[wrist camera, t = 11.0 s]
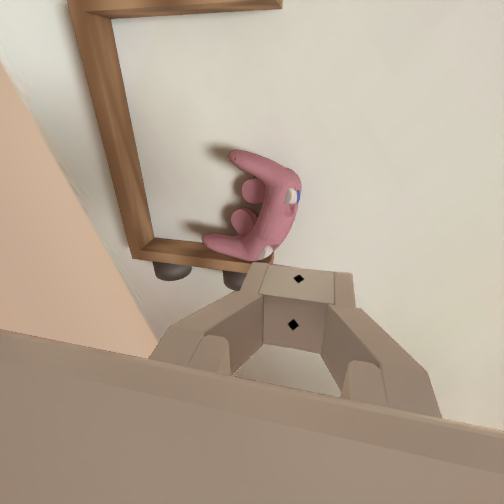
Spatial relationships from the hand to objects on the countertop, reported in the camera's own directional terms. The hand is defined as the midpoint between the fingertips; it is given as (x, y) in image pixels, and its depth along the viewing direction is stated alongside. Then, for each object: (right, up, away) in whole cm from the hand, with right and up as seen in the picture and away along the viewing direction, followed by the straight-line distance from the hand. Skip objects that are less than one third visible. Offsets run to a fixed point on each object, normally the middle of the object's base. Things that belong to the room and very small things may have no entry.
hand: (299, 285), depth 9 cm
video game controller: (-4, +6, +18) cm, 20 cm away
